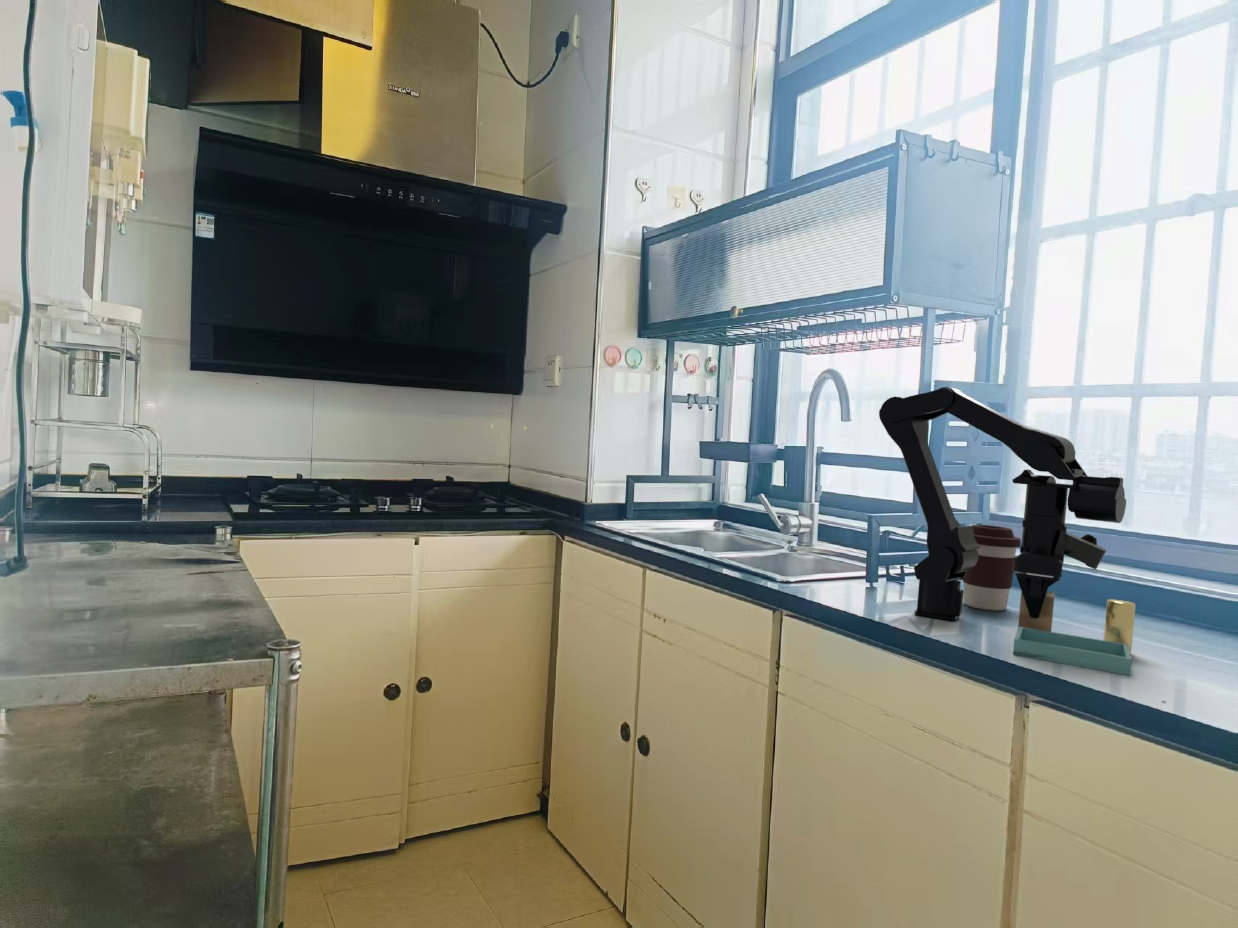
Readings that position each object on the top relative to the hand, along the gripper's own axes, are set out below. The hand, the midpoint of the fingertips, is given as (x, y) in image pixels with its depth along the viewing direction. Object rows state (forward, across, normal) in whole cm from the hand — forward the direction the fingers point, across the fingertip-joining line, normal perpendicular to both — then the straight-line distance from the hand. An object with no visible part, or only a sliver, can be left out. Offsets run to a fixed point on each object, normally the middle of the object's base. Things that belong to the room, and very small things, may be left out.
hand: (1035, 613), depth 123 cm
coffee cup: (+4, +20, +9) cm, 22 cm away
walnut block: (+4, 0, 0) cm, 4 cm away
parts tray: (+4, -10, -5) cm, 12 cm away
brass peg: (+4, -1, -11) cm, 12 cm away
